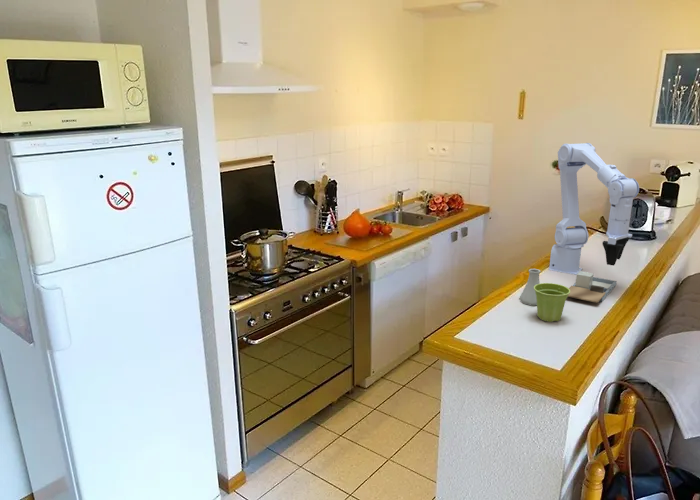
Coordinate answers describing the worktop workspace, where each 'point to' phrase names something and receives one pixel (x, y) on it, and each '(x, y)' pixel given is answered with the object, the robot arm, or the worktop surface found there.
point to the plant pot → (550, 300)
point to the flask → (530, 288)
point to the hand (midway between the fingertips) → (613, 261)
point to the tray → (603, 285)
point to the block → (584, 279)
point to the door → (587, 293)
